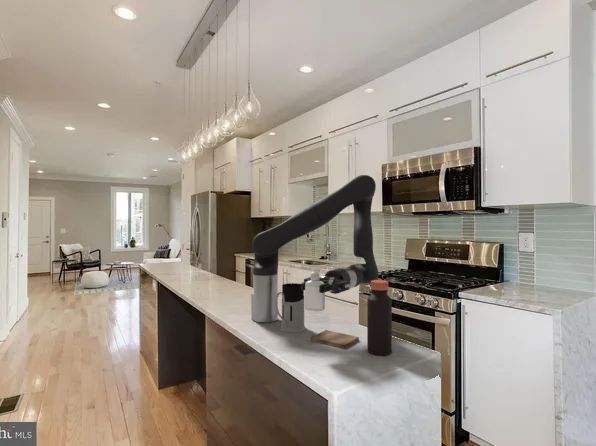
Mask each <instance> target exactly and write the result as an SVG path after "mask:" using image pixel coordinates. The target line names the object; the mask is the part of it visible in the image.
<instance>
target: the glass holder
mask: <svg viewBox="0 0 596 446" xmlns="http://www.w3.org/2000/svg"><path fill="white" fill-rule="evenodd" d="M281 286H282V287H281V289H282V290H281V291H282V292H281V291H280V292H279V291H278V294H277V295H276V298H275V306H276V311H277V314H278V318H280V319H281V324H280V325H281V326H280V328H279V329H280V330H281V331H283V332H287V333H297V332H303V331H305V330H306V326H305V290H301V283H296V282H295V283H293V282H292V283H290V282H289V283H283V284H282V285H281ZM280 294H281V313H280V311H279V307H278V306H277V298H279V296H280Z"/></svg>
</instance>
